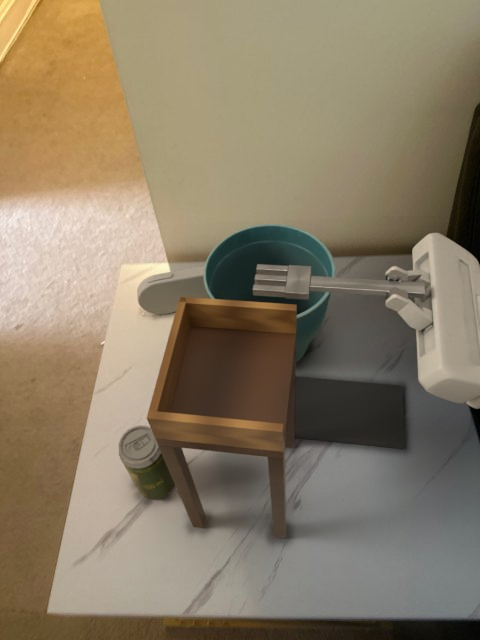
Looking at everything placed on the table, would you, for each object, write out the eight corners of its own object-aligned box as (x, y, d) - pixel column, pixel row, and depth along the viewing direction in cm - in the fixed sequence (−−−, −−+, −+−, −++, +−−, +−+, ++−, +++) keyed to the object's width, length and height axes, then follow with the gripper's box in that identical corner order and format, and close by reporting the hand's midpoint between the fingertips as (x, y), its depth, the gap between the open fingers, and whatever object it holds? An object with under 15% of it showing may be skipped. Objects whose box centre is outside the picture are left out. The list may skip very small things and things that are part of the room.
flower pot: (341, 380, 85) (351, 310, 71) (223, 399, 84) (210, 332, 71) (315, 290, 96) (319, 215, 82) (210, 306, 95) (197, 233, 82)
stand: (295, 438, 80) (296, 304, 56) (285, 539, 71) (282, 432, 48) (212, 429, 81) (179, 296, 58) (193, 527, 73) (146, 418, 49)
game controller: (254, 288, 97) (251, 255, 91) (256, 298, 96) (254, 265, 89) (142, 308, 96) (131, 275, 90) (143, 318, 95) (132, 286, 88)
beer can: (163, 456, 79) (146, 415, 70) (184, 485, 77) (169, 447, 67) (130, 479, 78) (108, 440, 68) (150, 509, 75) (130, 474, 65)
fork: (422, 278, 61) (424, 272, 60) (424, 307, 58) (426, 301, 58) (257, 269, 63) (257, 263, 63) (252, 296, 61) (252, 290, 60)
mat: (402, 386, 83) (402, 385, 83) (403, 449, 77) (404, 448, 77) (255, 374, 87) (254, 372, 86) (246, 433, 81) (245, 431, 80)
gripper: (500, 249, 67) (405, 200, 63) (526, 400, 55) (411, 350, 51) (461, 278, 72) (371, 234, 68) (478, 423, 59) (369, 378, 56)
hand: (388, 285), depth 59 cm, fingers closed on fork
